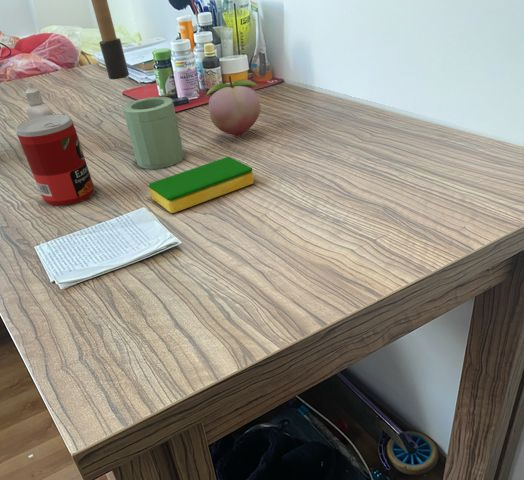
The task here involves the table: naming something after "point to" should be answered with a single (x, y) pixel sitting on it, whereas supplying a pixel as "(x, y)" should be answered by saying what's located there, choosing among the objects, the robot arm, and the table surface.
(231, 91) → the decorative fruit
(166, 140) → the jar
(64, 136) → the canned food
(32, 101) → the eye dropper bottle
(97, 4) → the brush
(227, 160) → the dish sponge
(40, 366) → the table surface
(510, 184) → the table surface
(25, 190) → the table surface
